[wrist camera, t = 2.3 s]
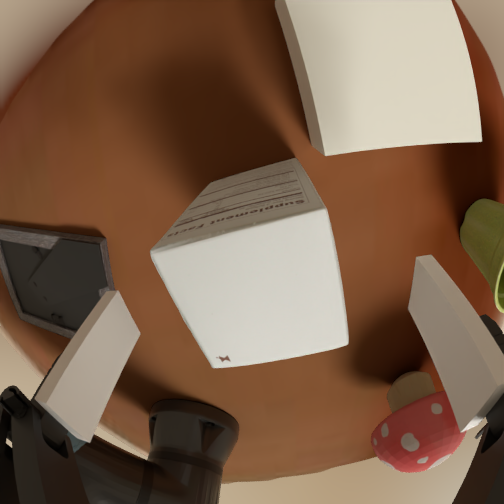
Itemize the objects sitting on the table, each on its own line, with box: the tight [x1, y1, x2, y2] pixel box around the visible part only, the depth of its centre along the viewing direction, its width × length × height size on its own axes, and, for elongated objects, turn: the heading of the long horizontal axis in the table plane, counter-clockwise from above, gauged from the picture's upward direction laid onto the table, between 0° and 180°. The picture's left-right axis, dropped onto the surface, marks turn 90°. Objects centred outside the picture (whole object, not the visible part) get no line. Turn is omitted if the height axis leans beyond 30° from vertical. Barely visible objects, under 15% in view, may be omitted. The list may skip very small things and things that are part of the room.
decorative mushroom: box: [371, 371, 467, 473], centre depth 25 cm, size 13×13×15 cm
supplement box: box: [150, 158, 349, 368], centre depth 17 cm, size 7×7×13 cm
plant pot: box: [460, 199, 504, 313], centre depth 18 cm, size 9×9×9 cm
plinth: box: [275, 0, 482, 156], centre depth 14 cm, size 12×12×6 cm
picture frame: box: [0, 224, 115, 339], centre depth 28 cm, size 16×2×21 cm
